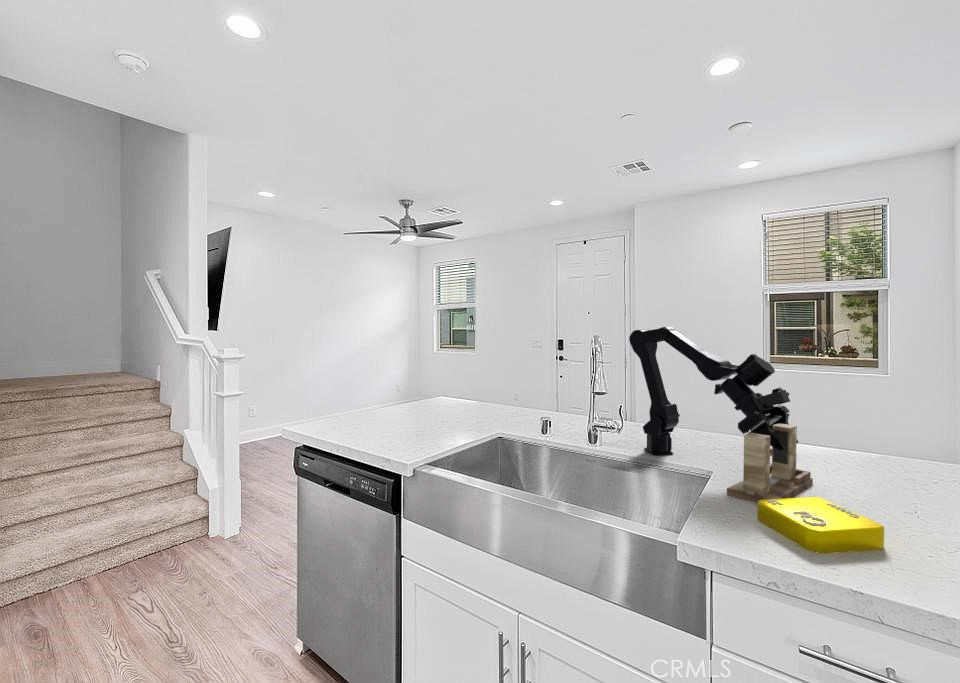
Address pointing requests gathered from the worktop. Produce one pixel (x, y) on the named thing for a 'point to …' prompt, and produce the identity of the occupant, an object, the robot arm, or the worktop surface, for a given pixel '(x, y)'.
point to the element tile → (820, 525)
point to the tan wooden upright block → (785, 452)
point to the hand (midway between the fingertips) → (789, 446)
